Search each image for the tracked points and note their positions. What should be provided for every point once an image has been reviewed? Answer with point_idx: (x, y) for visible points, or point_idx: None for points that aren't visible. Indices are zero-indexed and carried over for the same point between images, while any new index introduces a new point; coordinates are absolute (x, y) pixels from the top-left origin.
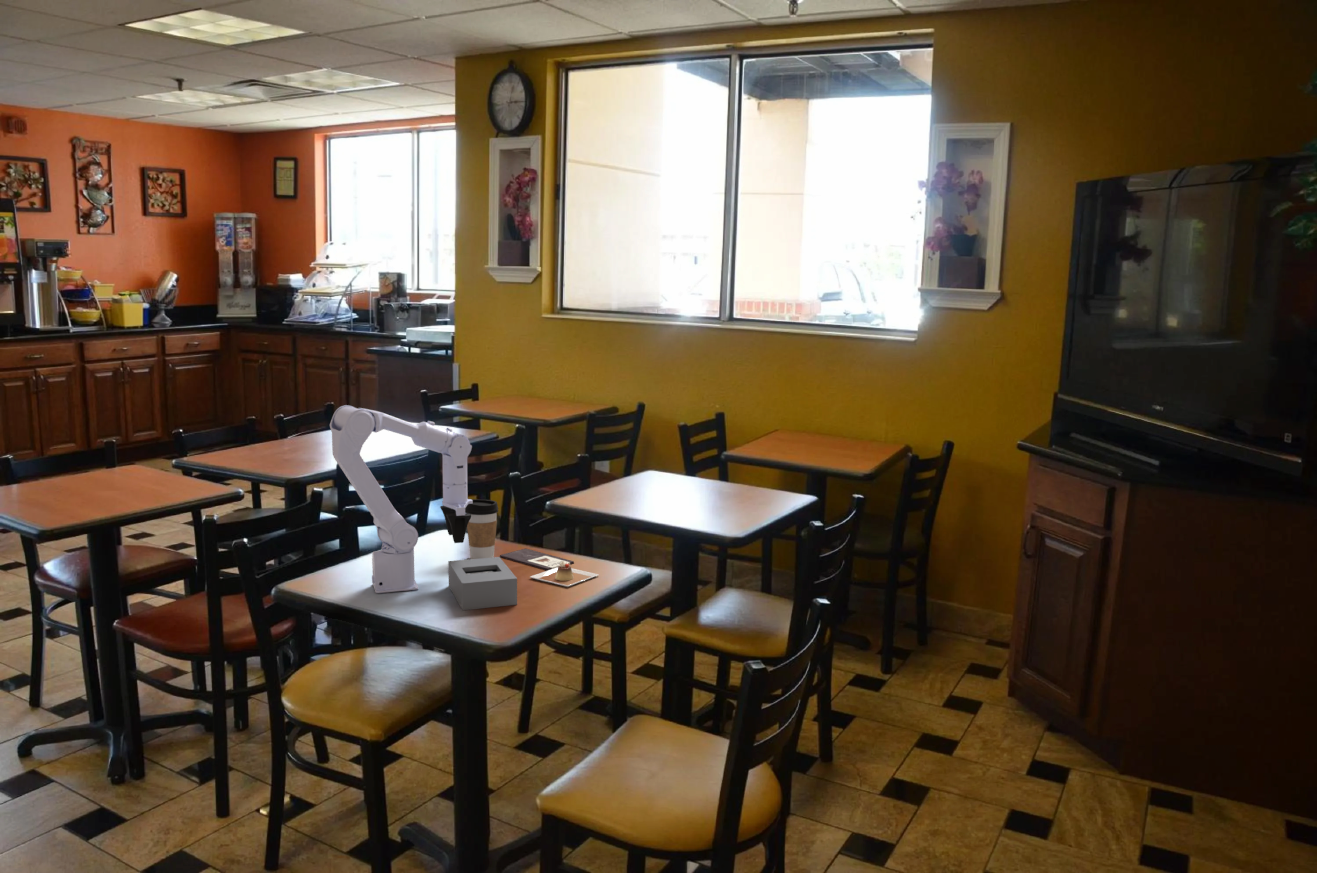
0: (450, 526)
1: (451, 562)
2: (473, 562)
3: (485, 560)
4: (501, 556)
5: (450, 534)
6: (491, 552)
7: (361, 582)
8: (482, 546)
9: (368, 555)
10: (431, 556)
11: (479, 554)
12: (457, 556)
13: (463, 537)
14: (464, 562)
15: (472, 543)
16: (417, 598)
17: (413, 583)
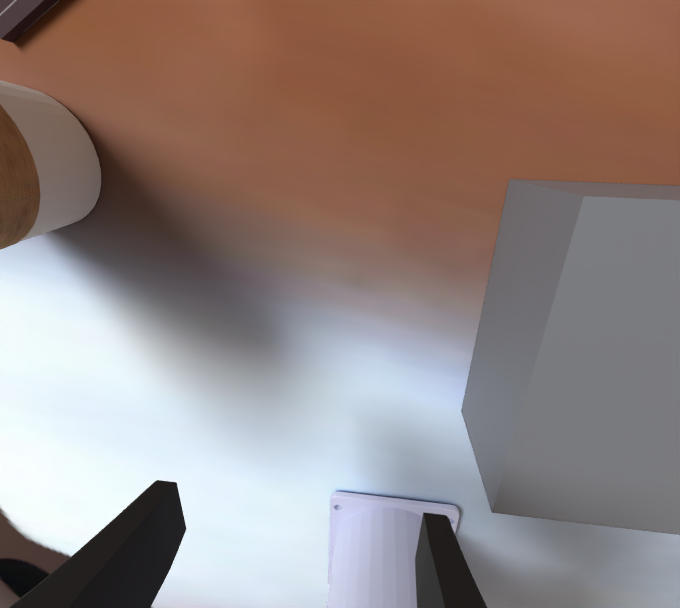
0: (139, 602)
1: (529, 507)
2: (613, 412)
3: (618, 330)
4: (17, 31)
5: (182, 528)
6: (38, 110)
7: (300, 591)
8: (32, 182)
9: (13, 522)
10: (17, 368)
11: (73, 194)
12: (12, 272)
13: (464, 564)
14: (575, 454)
15: (2, 245)
16: (551, 524)
17: (421, 522)
